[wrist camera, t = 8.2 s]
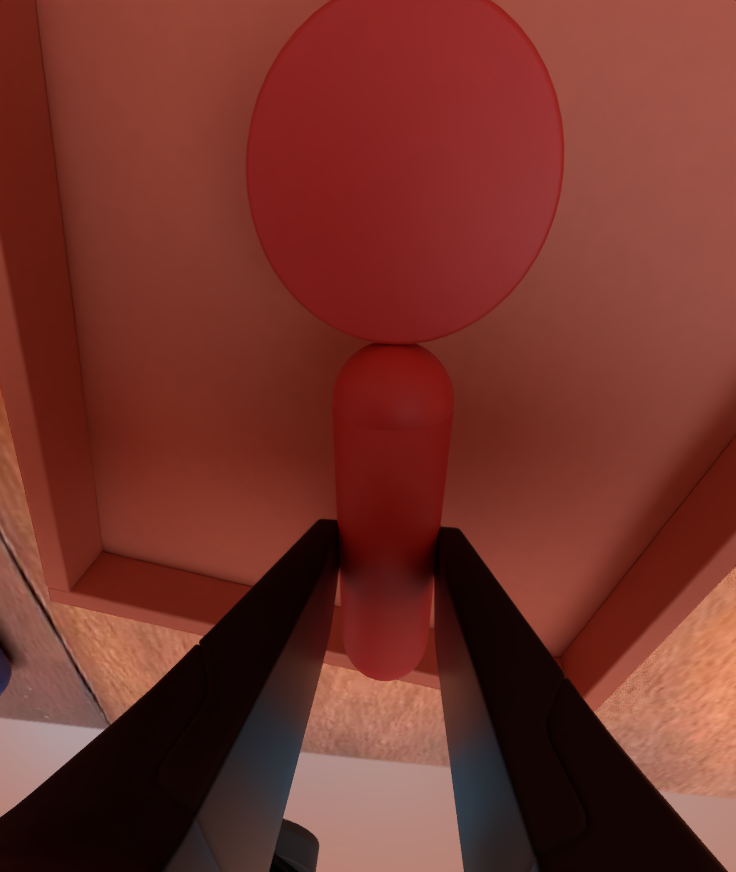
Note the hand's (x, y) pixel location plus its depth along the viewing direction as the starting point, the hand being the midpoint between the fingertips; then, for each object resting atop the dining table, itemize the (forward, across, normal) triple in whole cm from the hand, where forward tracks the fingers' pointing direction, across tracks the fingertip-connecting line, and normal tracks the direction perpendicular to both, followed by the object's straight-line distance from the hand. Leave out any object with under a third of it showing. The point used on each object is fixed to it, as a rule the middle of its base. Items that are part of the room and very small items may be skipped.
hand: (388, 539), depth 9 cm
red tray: (+2, -3, -14) cm, 14 cm away
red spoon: (+1, 0, -2) cm, 2 cm away
